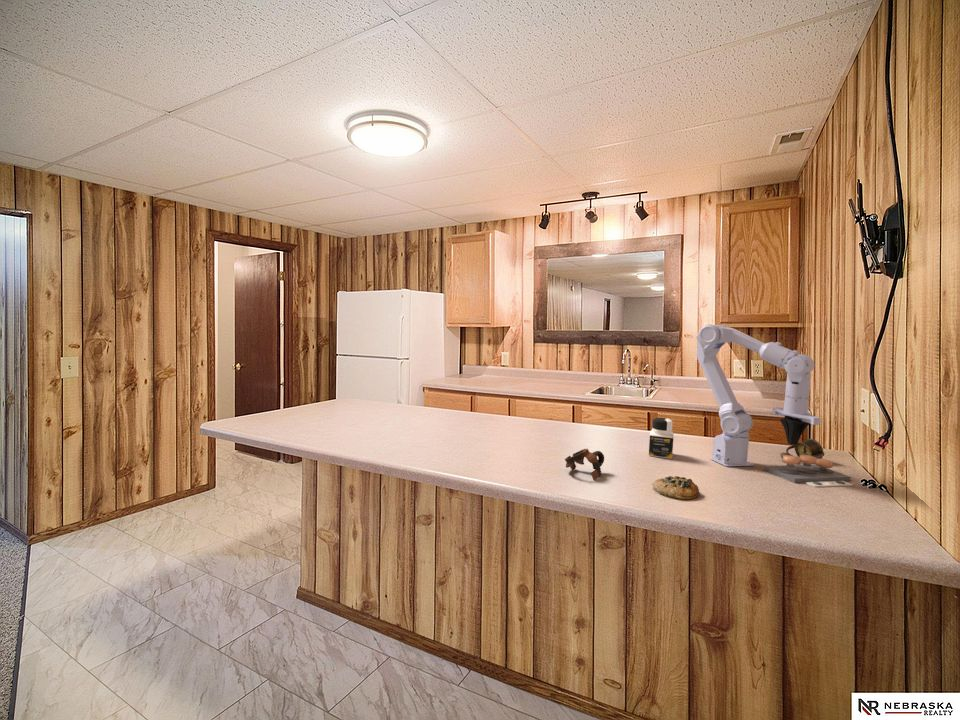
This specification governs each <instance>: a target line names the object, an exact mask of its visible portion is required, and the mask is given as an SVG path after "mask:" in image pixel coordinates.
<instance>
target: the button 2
mask: <svg viewBox="0 0 960 720" xmlns="http://www.w3.org/2000/svg"><path fill="white" fill-rule="evenodd" d="M814 465H816V466H819V467H820V468H819V469H821V470H827V468H828V469H832V468H833V461H832V460H831V459H825V458H822V459H816V464H814Z"/></svg>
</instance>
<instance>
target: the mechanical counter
mask: <svg viewBox="0 0 960 720" xmlns="http://www.w3.org/2000/svg"><path fill="white" fill-rule="evenodd" d="M823 448H824V447H823V446H822V445H821V443H820V442H819V441H817V440H816V439H813V438H807V439H805V440H802V441H798V444H797V445H789V446H788V447H787V448H786V449H785V452H781V453H779V454H780V455H779V456H780V457H781V459H782V460H783V456H784V455H790V456H793V454H791V453H790V452H789V451H790V450H791V449H794V451H795V454H796V457H798V458H799V457H800V455H809V456H813V457H816V459H823V457H824V456H825V452H824V449H823Z"/></svg>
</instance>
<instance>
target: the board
mask: <svg viewBox="0 0 960 720" xmlns="http://www.w3.org/2000/svg"><path fill="white" fill-rule="evenodd" d="M819 468H820V467H819V466H816V465H815V464H811V466H810V467H808V466H804V465H803V464H799V465H794V467H789V466H787V465H764V471H766V472H768V473H770V474H773V475H775V476H778V477H780V478H782V479H784V480H786V481H789V482H792V483H793V484H797V483H799V484H800V483H802V484H803V483H805V482H823V481H845V482H851V480H852V479H851V478H852V477H851V476H850V475H846V474H844V473H841V472H839V471H836V470H833V469H832V468H827V470H821V469H819ZM805 484H806V483H805Z"/></svg>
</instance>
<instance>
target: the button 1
mask: <svg viewBox="0 0 960 720" xmlns="http://www.w3.org/2000/svg"><path fill="white" fill-rule="evenodd" d="M799 459H800V458H799V457H798V456H795V455H792V456H790V455H784V456H783V459H782V463H785V464H786V466H789V467H794V465H800V461H799Z"/></svg>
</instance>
